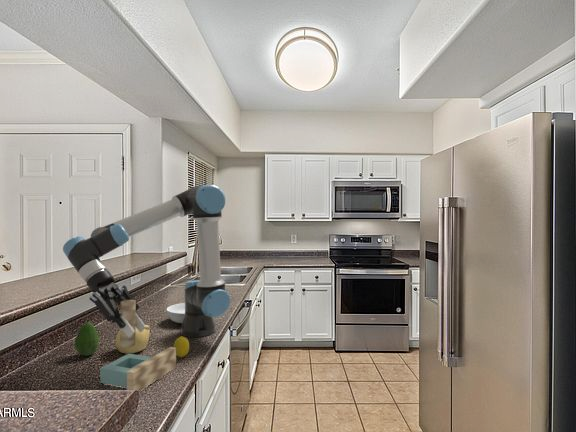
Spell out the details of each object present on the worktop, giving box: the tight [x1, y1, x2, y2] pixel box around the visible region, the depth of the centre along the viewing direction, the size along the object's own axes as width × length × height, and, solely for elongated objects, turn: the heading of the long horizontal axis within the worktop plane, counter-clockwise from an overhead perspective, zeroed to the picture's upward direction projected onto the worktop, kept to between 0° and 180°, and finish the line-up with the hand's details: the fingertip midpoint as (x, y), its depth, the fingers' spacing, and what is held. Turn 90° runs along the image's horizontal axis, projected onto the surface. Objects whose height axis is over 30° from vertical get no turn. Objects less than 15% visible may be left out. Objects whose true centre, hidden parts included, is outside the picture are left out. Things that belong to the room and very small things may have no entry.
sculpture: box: [115, 324, 151, 355], centre depth 137 cm, size 12×12×11 cm
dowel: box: [119, 299, 137, 348], centre depth 113 cm, size 4×4×14 cm
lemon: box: [173, 335, 190, 359], centre depth 130 cm, size 6×6×8 cm
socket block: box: [99, 353, 153, 388], centre depth 114 cm, size 12×12×5 cm
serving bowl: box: [166, 302, 185, 324], centre depth 174 cm, size 21×21×7 cm
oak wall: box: [126, 346, 177, 393], centre depth 112 cm, size 20×2×7 cm, turn 162°
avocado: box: [74, 322, 100, 357], centre depth 133 cm, size 8×8×12 cm
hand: (137, 331), depth 112 cm, fingers closed on dowel, 4 cm apart
